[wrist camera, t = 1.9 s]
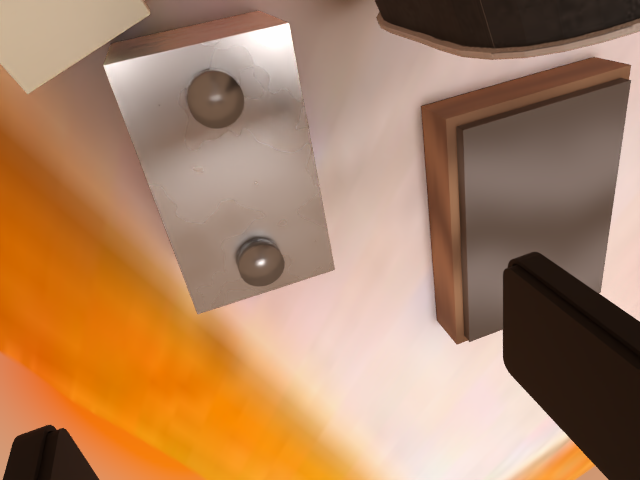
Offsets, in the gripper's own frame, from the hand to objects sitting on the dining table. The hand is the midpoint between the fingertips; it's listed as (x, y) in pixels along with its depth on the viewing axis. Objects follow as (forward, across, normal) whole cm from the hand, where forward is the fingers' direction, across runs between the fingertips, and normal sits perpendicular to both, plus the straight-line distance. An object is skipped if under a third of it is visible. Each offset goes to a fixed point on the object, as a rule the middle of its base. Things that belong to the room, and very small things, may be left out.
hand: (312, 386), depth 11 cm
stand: (+15, -15, +7) cm, 23 cm away
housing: (+15, 0, -1) cm, 15 cm away
